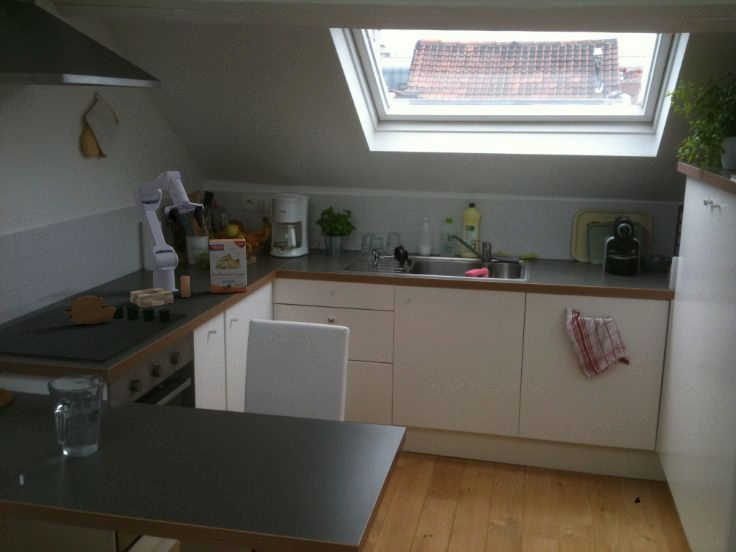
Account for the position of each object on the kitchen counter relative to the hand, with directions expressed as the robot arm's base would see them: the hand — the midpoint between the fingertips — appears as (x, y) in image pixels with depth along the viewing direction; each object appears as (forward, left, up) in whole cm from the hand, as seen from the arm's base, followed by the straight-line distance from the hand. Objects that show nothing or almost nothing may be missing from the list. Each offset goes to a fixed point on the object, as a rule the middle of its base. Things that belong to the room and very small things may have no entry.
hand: (191, 226), depth 272 cm
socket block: (-11, -12, -29) cm, 33 cm away
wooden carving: (+7, -40, -29) cm, 50 cm away
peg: (-12, +2, -29) cm, 31 cm away
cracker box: (-10, +19, -29) cm, 36 cm away
